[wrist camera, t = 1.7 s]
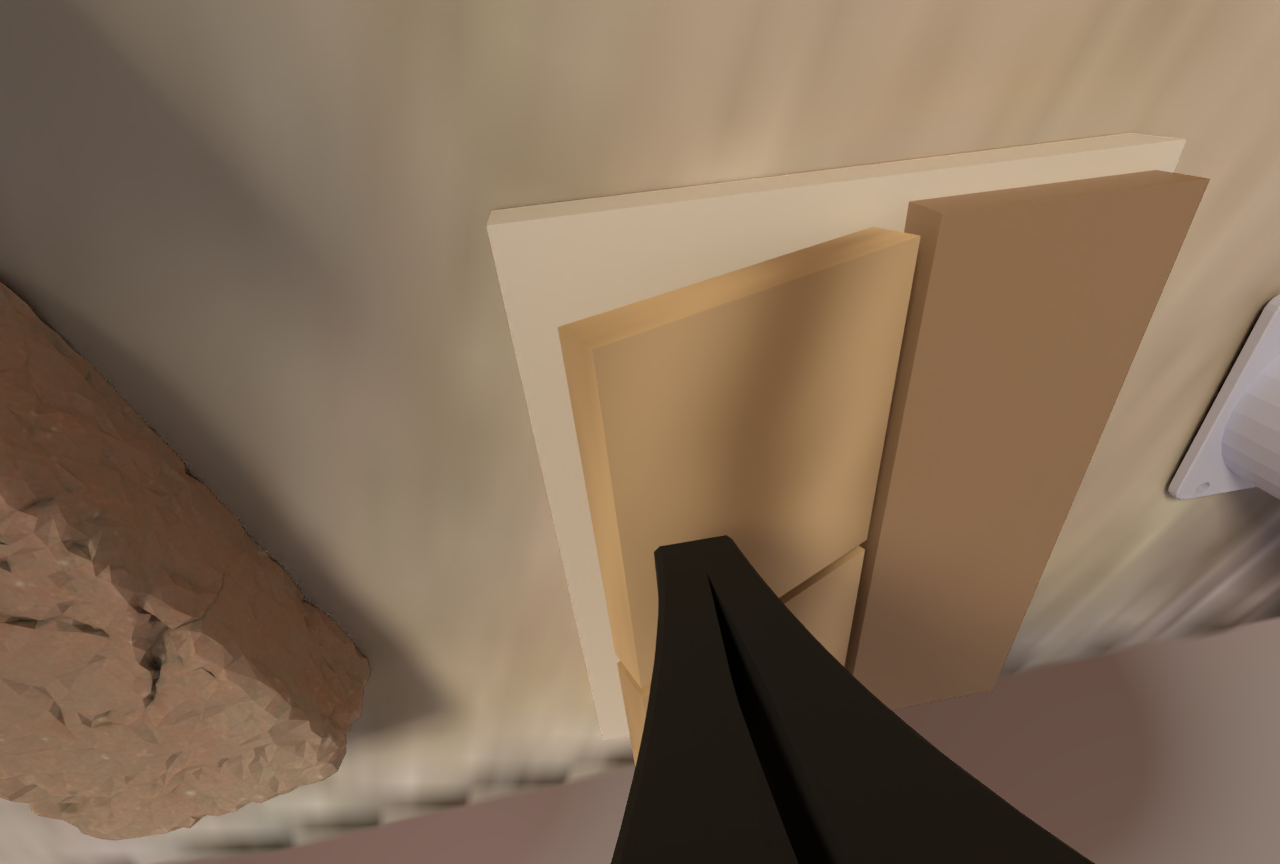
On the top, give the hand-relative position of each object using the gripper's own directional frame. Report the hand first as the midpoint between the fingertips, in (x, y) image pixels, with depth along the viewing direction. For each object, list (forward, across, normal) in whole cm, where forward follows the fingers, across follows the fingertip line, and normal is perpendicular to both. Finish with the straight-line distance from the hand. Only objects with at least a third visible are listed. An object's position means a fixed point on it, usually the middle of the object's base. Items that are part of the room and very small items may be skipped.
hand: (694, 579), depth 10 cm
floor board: (+7, -5, +5) cm, 10 cm away
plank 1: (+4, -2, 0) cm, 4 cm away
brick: (+8, +16, +3) cm, 18 cm away
